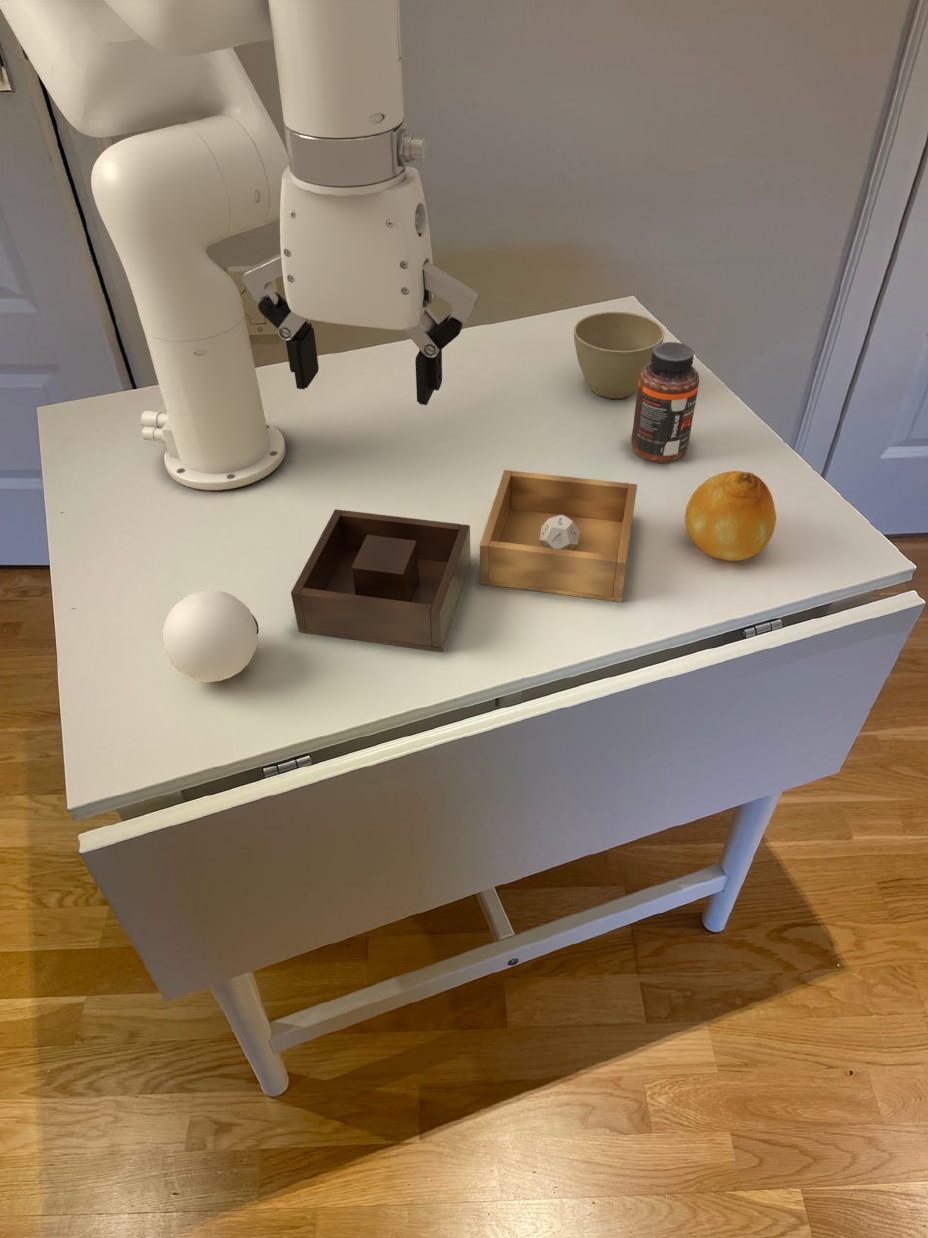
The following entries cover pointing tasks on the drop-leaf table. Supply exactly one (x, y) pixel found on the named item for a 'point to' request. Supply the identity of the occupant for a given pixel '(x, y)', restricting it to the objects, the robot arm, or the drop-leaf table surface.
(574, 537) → the game die
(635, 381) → the flower pot
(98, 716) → the drop-leaf table surface
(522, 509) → the light bin
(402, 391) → the drop-leaf table surface
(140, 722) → the drop-leaf table surface
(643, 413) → the supplement bottle
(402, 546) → the walnut block
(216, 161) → the robot arm
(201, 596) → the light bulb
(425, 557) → the dark bin
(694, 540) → the fruit
